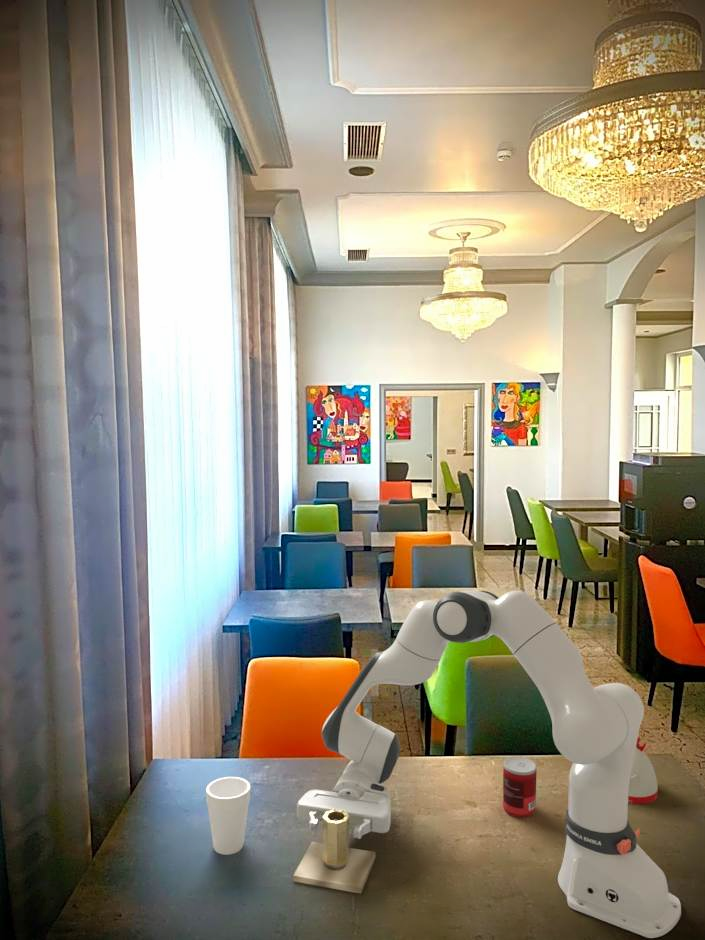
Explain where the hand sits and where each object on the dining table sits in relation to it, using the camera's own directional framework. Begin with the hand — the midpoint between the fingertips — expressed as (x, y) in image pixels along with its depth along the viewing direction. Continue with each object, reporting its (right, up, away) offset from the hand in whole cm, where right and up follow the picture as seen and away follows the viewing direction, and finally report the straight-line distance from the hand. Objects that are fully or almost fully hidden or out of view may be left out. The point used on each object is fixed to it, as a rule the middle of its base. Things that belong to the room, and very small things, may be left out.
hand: (334, 831), depth 143 cm
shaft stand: (0, -8, +1) cm, 9 cm away
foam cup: (-23, -8, +9) cm, 26 cm away
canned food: (+43, -8, +25) cm, 50 cm away
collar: (0, -6, +1) cm, 6 cm away
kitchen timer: (+73, -7, +34) cm, 81 cm away
